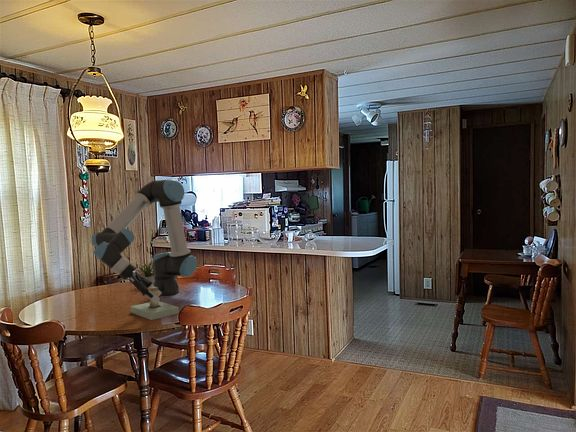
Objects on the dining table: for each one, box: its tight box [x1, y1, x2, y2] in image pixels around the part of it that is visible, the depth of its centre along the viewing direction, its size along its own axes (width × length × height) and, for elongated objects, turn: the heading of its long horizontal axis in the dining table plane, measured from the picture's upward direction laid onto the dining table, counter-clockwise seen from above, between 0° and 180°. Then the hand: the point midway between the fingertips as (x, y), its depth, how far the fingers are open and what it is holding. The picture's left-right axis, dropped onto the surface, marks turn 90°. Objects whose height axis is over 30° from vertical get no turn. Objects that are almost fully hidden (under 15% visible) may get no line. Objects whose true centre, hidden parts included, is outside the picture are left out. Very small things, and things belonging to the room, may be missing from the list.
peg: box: [148, 287, 159, 308], centre depth 209 cm, size 4×4×12 cm
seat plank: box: [130, 300, 180, 321], centre depth 209 cm, size 20×14×3 cm
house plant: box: [137, 260, 154, 285], centre depth 275 cm, size 14×14×16 cm
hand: (159, 298), depth 209 cm, fingers open, 13 cm apart
